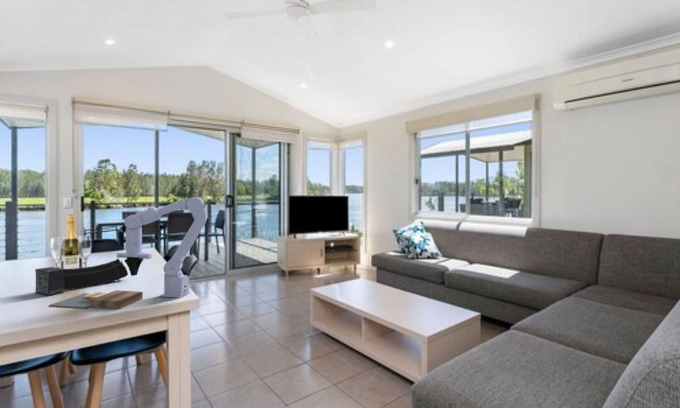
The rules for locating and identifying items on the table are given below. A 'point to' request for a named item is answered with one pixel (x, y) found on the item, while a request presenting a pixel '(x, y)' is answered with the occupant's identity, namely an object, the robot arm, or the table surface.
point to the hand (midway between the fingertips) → (134, 275)
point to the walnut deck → (116, 299)
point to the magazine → (94, 275)
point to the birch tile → (92, 296)
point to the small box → (49, 281)
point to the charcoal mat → (73, 302)
